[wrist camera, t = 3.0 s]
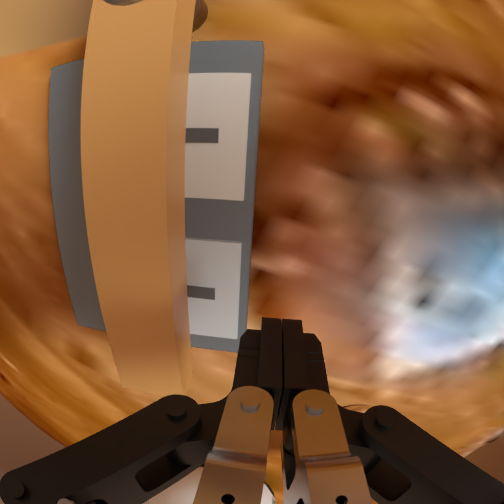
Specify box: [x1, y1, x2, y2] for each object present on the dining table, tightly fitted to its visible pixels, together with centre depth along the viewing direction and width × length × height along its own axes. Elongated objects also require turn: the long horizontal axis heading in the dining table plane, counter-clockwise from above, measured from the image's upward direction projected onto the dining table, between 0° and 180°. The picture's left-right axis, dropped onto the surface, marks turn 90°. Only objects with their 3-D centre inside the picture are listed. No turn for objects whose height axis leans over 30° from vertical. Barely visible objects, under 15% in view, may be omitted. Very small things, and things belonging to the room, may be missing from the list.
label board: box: [48, 41, 264, 352], centre depth 18 cm, size 14×20×2 cm
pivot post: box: [192, 0, 208, 32], centre depth 12 cm, size 3×3×4 cm
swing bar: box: [81, 0, 196, 397], centre depth 12 cm, size 24×4×2 cm, turn 177°
